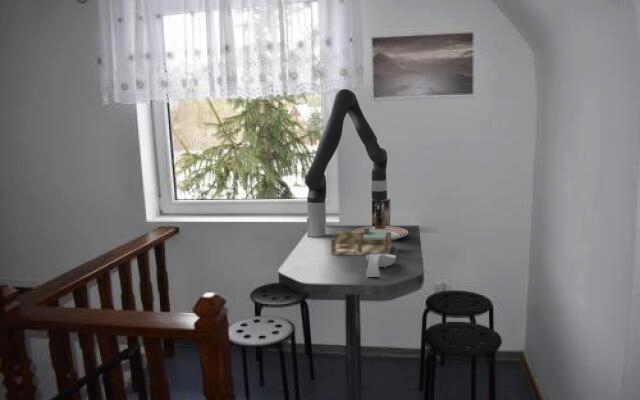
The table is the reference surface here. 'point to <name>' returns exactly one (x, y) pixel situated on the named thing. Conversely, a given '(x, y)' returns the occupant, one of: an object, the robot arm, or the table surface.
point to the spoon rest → (378, 263)
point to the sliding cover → (374, 234)
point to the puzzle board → (359, 244)
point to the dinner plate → (395, 231)
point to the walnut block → (382, 222)
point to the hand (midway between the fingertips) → (379, 223)
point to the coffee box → (385, 212)
